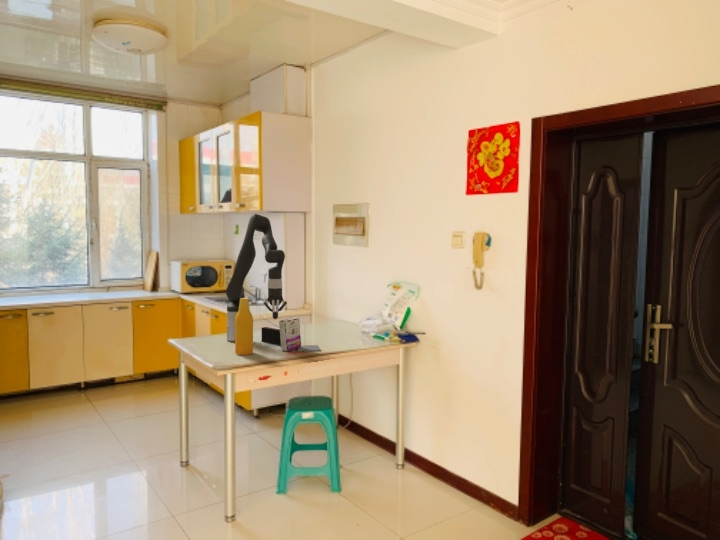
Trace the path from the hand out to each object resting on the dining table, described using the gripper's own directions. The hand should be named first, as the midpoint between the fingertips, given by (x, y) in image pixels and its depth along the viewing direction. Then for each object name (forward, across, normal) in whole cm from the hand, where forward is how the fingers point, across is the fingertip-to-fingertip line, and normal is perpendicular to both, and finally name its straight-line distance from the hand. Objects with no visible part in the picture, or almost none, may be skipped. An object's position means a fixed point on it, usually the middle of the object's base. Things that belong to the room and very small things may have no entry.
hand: (275, 318), depth 283 cm
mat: (+17, +18, 0) cm, 25 cm away
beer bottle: (+17, -17, -5) cm, 24 cm away
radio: (+17, 0, +17) cm, 24 cm away
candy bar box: (+17, +8, 0) cm, 19 cm away
